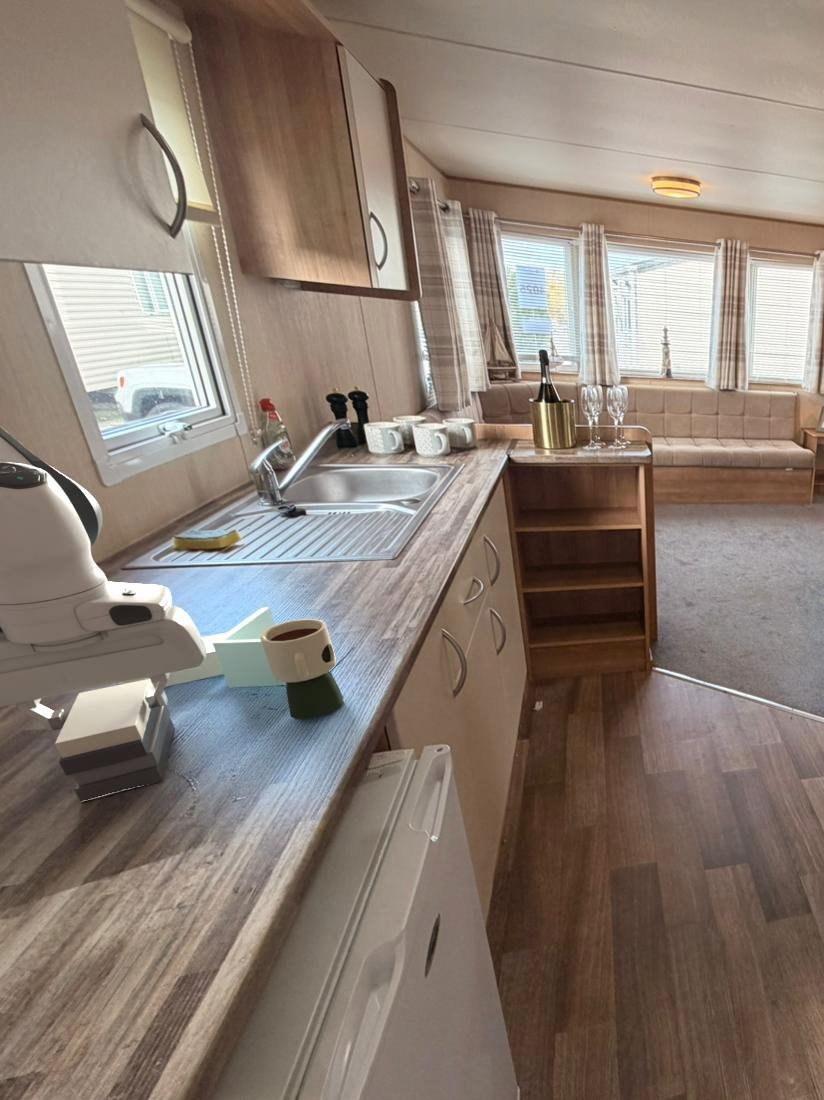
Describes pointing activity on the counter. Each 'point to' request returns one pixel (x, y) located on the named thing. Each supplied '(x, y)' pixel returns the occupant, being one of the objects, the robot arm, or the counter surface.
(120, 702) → the cream flat block
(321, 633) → the character mug
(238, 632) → the l-shaped corner panel
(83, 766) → the grey book pile
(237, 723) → the counter surface
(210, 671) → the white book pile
